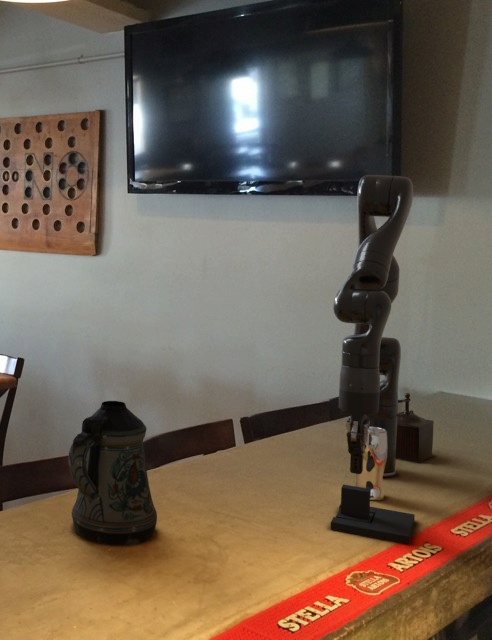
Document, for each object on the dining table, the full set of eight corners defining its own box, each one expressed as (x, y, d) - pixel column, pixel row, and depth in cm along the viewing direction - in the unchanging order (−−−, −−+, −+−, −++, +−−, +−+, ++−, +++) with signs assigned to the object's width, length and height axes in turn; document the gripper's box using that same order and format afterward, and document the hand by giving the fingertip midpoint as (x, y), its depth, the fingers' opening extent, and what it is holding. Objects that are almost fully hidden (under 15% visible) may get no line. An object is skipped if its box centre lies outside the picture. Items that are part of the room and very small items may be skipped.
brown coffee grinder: (435, 455, 214) (437, 387, 213) (418, 463, 206) (421, 393, 206) (375, 443, 225) (378, 378, 224) (358, 450, 218) (360, 383, 217)
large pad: (341, 508, 172) (341, 501, 172) (414, 521, 165) (414, 514, 165) (330, 529, 160) (330, 521, 160) (408, 544, 153) (409, 536, 153)
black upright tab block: (340, 514, 168) (341, 481, 168) (373, 520, 165) (374, 486, 165) (335, 523, 163) (336, 489, 163) (369, 530, 160) (371, 495, 160)
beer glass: (389, 502, 176) (391, 434, 176) (355, 499, 178) (357, 432, 177) (381, 492, 183) (383, 426, 183) (349, 489, 185) (351, 424, 184)
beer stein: (162, 520, 163) (165, 397, 162) (145, 558, 144) (149, 419, 143) (83, 510, 168) (85, 390, 167) (57, 544, 150) (59, 411, 149)
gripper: (375, 395, 156) (372, 484, 156) (383, 384, 167) (380, 467, 168) (334, 391, 159) (331, 478, 160) (344, 380, 171) (341, 461, 171)
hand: (356, 472), depth 164 cm, fingers closed
